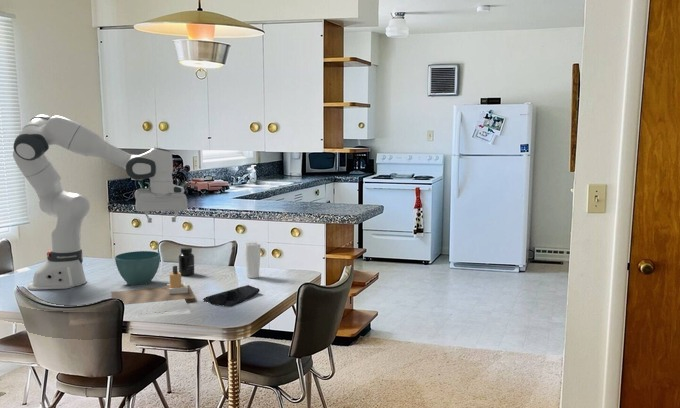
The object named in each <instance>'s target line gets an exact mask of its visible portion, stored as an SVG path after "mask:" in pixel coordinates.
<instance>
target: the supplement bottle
mask: <svg viewBox="0 0 680 408" xmlns="http://www.w3.org/2000/svg"><path fill="white" fill-rule="evenodd" d="M178 272H180V273H181V277H182V276H183V277H187V276H188V277H189V276H193V275H194V274H195V255H194V253H193V249H192V247H181V248H180V254H179V255H178Z"/></svg>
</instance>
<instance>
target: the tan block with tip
mask: <svg viewBox="0 0 680 408" xmlns="http://www.w3.org/2000/svg"><path fill="white" fill-rule="evenodd" d="M181 283H182V276H181V273H180V272H179V270H178V265H173V266H172V272H169V284H170V288H179V287H181Z"/></svg>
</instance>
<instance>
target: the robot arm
mask: <svg viewBox="0 0 680 408" xmlns="http://www.w3.org/2000/svg"><path fill="white" fill-rule="evenodd" d="M52 145H56V146H60V147H62V148H64V149H65V150H68V151H70V152H72V153H74V154H77V155H81V156H85V157H95V158H101V159H104V160H105V161H108V162H111V163H112V164H115V165H117V166H119V167H121V168H122V169H124V170H125V171H126V174H127V176H128V177H129V178H130V179H133V180H135V181H142V180H145V179H149V188H146V187H145V188H142V187H141V188H138V189H136V190H135V191H134V199H135V206H134V207H135V210H136V212H143V213H144V215H145V217H146V218H147V223H149V224H150V223H152V222H153V221H152V219H153V218H152V217H149V214H150V213H149V212H174V216H173V217H171V222H172V223H177V221H176V220H177V217H178V215H179V212H185V211H187V210H188V199H187V195H186V194H185V188H184V187H182V186H180V185H178V184H174V181H173V180H174V178H173V172H174V170H173V169H174V166H173V165H174V163H173V162H174V160H173V154H172V152H170V150H168V149H166V148H161V147H152V148H151V149H148V151H146V152H144V153H141V154H139V153H138V154H136V153H130V152H127V151H125V150H122V149H120V148H119V147H116V146H114V145H112V144H111V143H109V142H108V141H106V140H104V138H102V136H100V135H99V134H97V133H96V132H95V131H93V130H92V129H90V128H89V127H88V126H86V125H83V124H81V123H80V122H77V121H75V120H72V119H69V118H66V117H64V116H60V115H54V116H52V117H51V116H50V115H47V114H38V115H36V116H34V117H32V118H31V119H30V120H29V121H28V122H27V123H26V125H24V127H23V128H22V129H21V131H20V133H19V134H18V136H17V137H16V138H15V140H14V142H13V151H12V157H13V160H14V161H15V163H16V165H17V167H18V169H19V170H20V172H21V173H22V175H23V176H24V177H25V179H26V180H27V181H28V182H29V184H30V185H31V187H32V188H33V189H34V191H35V192H36V195H37V197H38V200H39V202H38V203H39V204H38V205H39V209H40V210H41V211H42V212H43V213H44V214H46V215H48V216H50V217H54V218H57V221H56V224H55V225H56V226H55V228H54V229H53V230H52V232H51V250H52V251H51V250H48V251H47V253H46V259H47V260H46V262H44V263H43V264H42V265H40V266H39V267H38V268H37V269H36V270H35V271H34V273H33V279H32V280H31V281H30V282H28V284H27V289H28V290H33V291H34V290H60V289H61V290H62V289H63V290H64V289H65V290H66V289H71V288H73V287H77V286H82V285H83V284H86V283H87V282H88V281H87V278H86V275H85V271H84V267H83V262H84V254H83V250H82V246H81V245H82V243H81V241H82V239H81V232H82V231H81V230H82V225H83V222H84V219H85V217H86V216H88V214H89V212H90V210H91V209H90V208H91V205H90V201H89V199H88V198H87V197H86V196H83V194H81V193H76V192H69V191H67V190H65V189H64V188H63V186H62V183H61V178H62V177H61V175H60V173H59V172H58V170H57V168H55V166H54V165H53V163H52V162H51V161H50V160H49V158H48V156H46V153H47V152H48V150H49V149H50V148H49V147H50V146H52Z"/></svg>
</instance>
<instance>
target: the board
mask: <svg viewBox="0 0 680 408" xmlns="http://www.w3.org/2000/svg"><path fill="white" fill-rule="evenodd" d="M186 285H187V287H188V293H177V294H169V290H167V286H165V287H154V288H153V287H151V288H141V289H140V288H139V289H128V290H117V291H111V296H110V297H111V298H117V299H121V300H122V301H123V302H124V305H133V304H144V303H153V302H154V303H155V302H164V301H165V302H166V301H167V302H169V301H177V300H185V303H187V304H188V303H196V300H197V299H196V296H195V294H194V292H193V290H192V288H191V286H190V285H188V284H186Z"/></svg>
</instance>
